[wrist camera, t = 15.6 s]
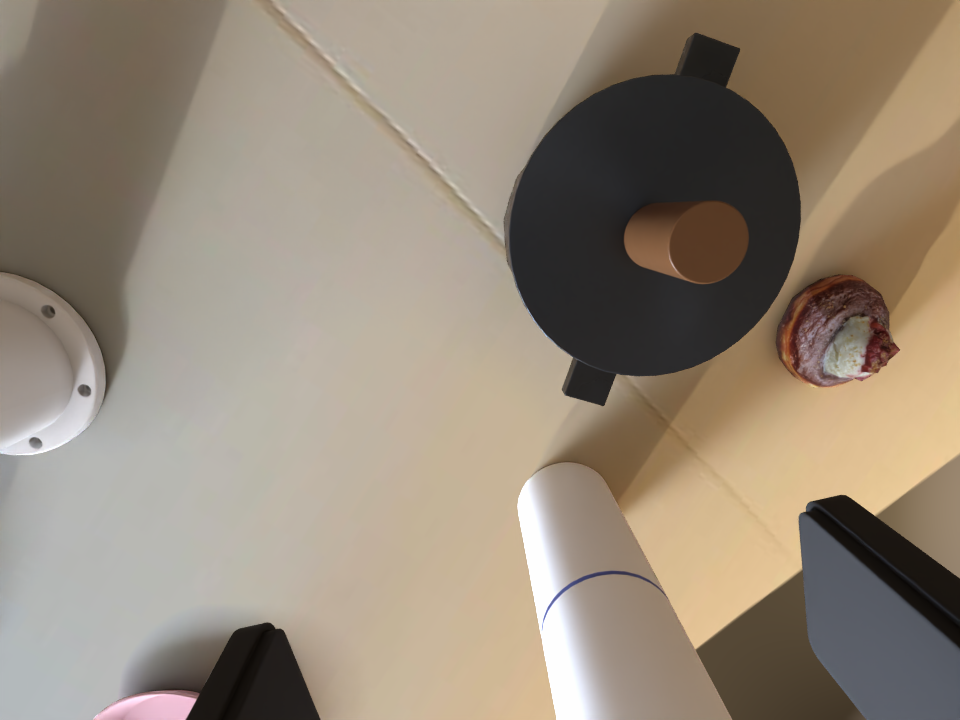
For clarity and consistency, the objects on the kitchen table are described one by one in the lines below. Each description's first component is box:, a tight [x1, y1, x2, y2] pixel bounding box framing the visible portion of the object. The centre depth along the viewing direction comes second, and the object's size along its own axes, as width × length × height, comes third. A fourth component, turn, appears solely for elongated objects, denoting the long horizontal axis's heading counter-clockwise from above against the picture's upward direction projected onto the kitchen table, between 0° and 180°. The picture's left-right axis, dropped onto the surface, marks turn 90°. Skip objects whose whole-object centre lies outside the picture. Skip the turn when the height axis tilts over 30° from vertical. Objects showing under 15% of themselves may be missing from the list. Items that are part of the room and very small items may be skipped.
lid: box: [508, 74, 801, 376], centre depth 24 cm, size 15×15×7 cm
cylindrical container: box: [518, 462, 732, 720], centre depth 29 cm, size 7×7×25 cm
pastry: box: [776, 275, 900, 388], centre depth 35 cm, size 8×8×5 cm
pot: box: [504, 33, 740, 406], centre depth 31 cm, size 14×19×8 cm
